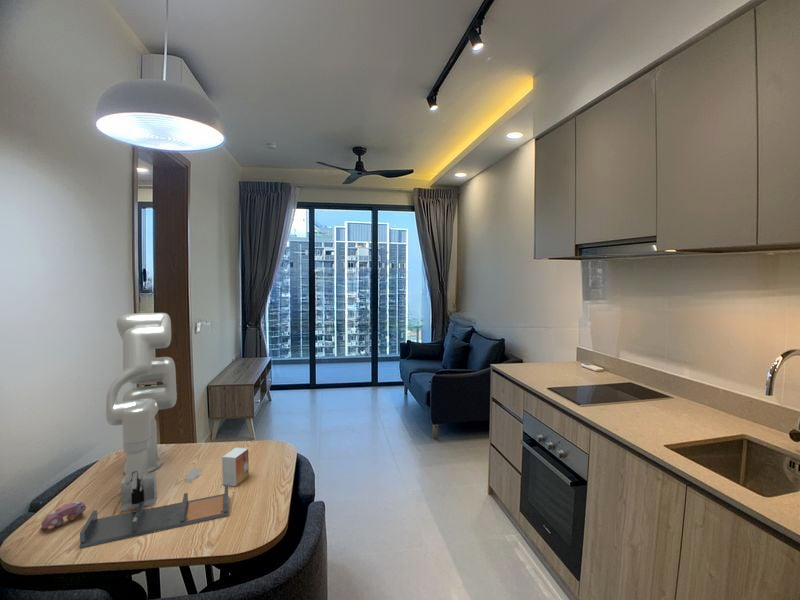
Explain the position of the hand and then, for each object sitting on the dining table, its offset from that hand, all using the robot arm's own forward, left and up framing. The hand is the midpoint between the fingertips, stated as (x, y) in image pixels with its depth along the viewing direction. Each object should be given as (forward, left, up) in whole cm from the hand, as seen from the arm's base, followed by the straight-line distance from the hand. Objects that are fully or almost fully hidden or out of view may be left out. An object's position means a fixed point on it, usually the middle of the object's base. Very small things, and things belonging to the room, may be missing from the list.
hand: (139, 498), depth 126 cm
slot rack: (+12, +8, -2) cm, 14 cm away
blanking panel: (0, 0, -2) cm, 2 cm away
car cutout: (-8, +12, -3) cm, 15 cm away
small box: (-4, +29, -2) cm, 29 cm away
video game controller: (+2, -19, -2) cm, 19 cm away
